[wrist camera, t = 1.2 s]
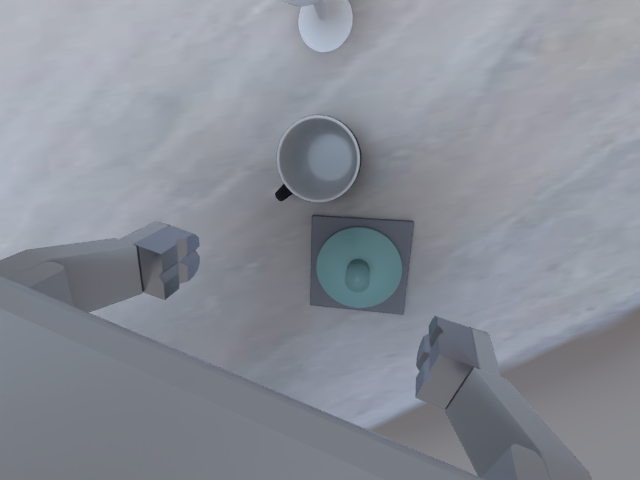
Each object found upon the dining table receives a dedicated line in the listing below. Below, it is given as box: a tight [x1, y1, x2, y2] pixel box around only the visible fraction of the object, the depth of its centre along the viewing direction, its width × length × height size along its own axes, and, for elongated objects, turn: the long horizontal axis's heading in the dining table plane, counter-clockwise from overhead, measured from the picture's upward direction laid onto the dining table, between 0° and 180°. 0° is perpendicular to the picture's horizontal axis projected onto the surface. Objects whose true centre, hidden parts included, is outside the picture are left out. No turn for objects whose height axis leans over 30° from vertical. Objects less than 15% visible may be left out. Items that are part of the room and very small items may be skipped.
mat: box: [310, 215, 414, 315], centre depth 45 cm, size 14×14×1 cm
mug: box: [275, 115, 361, 203], centre depth 37 cm, size 12×9×10 cm
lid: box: [316, 226, 402, 308], centre depth 42 cm, size 12×12×5 cm
